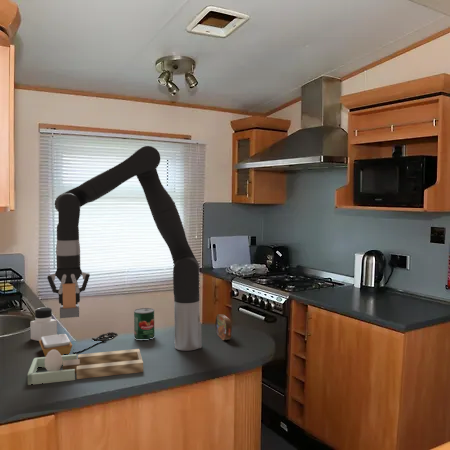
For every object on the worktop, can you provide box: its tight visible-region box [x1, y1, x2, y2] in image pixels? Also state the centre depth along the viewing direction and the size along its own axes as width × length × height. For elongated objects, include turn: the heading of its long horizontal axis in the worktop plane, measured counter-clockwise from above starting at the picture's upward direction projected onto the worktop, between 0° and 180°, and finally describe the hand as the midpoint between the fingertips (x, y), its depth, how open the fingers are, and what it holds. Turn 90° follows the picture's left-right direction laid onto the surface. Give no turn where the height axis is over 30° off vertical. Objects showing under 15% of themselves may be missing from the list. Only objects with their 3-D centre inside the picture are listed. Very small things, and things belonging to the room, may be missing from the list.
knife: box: [91, 331, 118, 342], centre depth 174 cm, size 25×6×1 cm, turn 154°
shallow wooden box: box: [76, 348, 144, 380], centre depth 149 cm, size 20×14×3 cm
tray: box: [26, 353, 78, 386], centre depth 144 cm, size 13×15×3 cm
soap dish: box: [38, 333, 73, 357], centre depth 164 cm, size 12×10×5 cm
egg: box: [44, 350, 63, 372], centre depth 145 cm, size 5×5×7 cm
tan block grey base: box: [59, 283, 80, 319], centre depth 154 cm, size 6×6×11 cm
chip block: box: [62, 358, 80, 374], centre depth 146 cm, size 5×5×3 cm
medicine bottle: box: [29, 306, 58, 342], centre depth 181 cm, size 7×7×12 cm
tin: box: [214, 313, 233, 341], centre depth 181 cm, size 15×3×8 cm, turn 16°
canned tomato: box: [133, 307, 156, 339], centre depth 180 cm, size 8×8×11 cm
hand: (69, 304), depth 154 cm, fingers closed on tan block grey base, 4 cm apart
